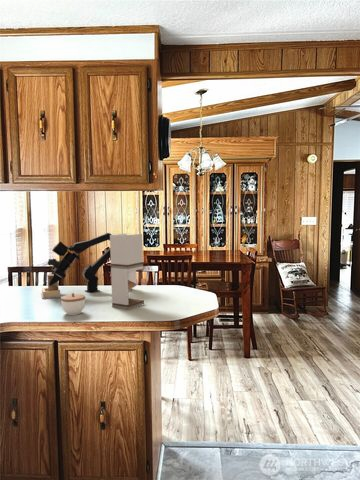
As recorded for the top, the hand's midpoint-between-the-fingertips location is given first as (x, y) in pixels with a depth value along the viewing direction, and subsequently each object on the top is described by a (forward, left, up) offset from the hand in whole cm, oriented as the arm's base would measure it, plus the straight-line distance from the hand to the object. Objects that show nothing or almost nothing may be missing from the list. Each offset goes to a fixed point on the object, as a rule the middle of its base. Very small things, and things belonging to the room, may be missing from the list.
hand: (49, 283), depth 204 cm
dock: (-1, -1, -7) cm, 7 cm away
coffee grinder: (-52, -15, -7) cm, 54 cm away
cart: (-1, -2, -6) cm, 6 cm away
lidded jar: (-44, +10, -7) cm, 46 cm away
